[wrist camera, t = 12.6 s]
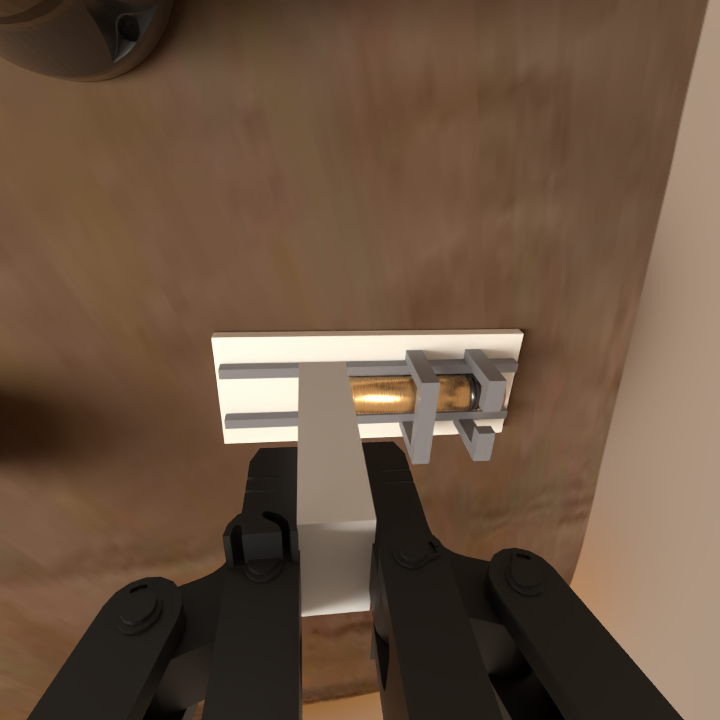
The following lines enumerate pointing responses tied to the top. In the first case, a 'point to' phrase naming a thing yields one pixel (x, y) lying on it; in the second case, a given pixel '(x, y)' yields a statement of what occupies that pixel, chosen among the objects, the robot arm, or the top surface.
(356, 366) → the white grey flat rack
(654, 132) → the top surface
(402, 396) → the tube
